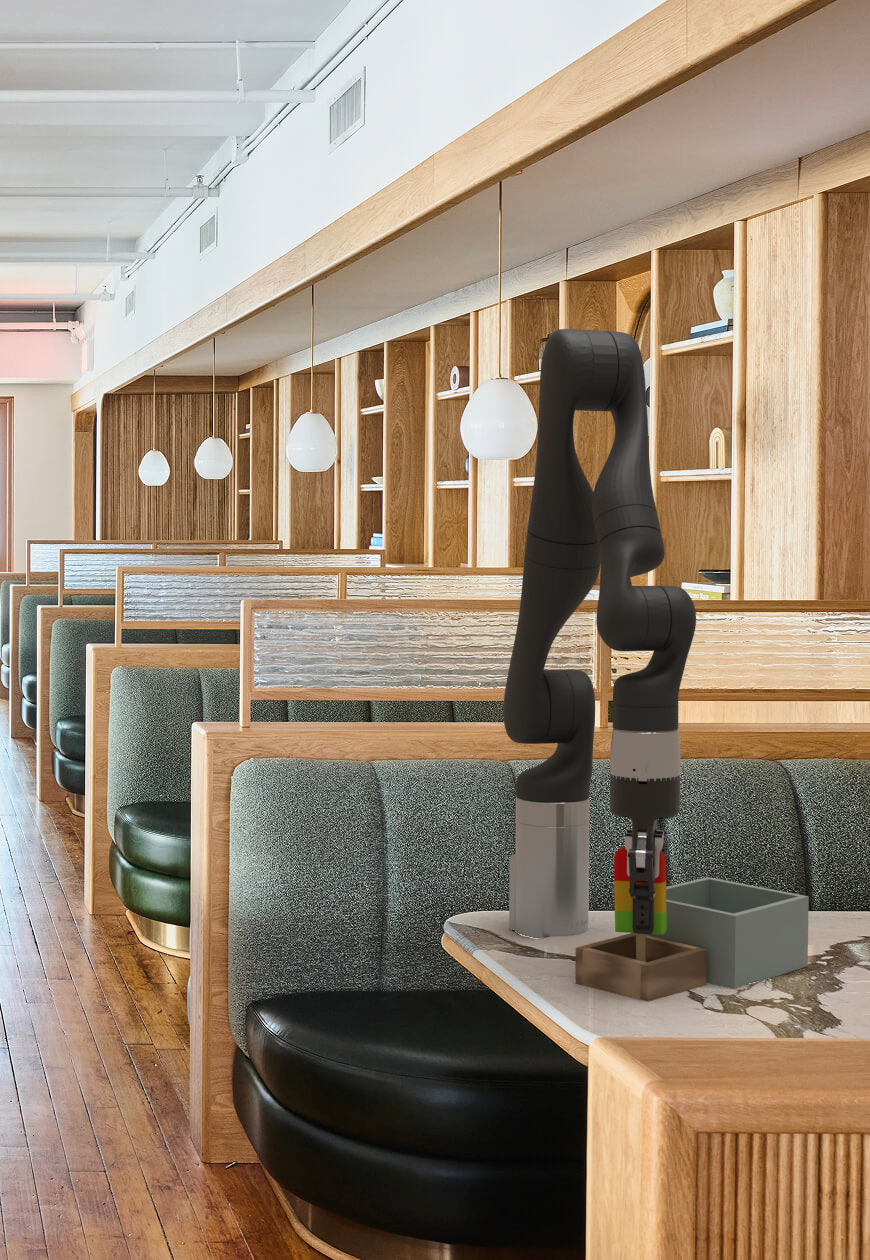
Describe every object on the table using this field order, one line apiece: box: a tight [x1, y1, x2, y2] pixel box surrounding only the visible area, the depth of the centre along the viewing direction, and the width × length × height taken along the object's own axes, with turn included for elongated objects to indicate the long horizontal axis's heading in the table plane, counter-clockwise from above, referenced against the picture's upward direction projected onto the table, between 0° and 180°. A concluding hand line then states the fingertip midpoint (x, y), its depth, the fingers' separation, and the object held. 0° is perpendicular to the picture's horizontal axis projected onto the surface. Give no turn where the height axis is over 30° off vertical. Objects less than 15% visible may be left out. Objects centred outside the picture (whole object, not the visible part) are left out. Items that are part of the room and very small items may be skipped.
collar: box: [574, 933, 707, 1003], centre depth 161 cm, size 10×10×4 cm
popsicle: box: [613, 846, 667, 962], centre depth 160 cm, size 6×15×2 cm
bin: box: [645, 877, 810, 990], centre depth 169 cm, size 14×14×8 cm
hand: (643, 929), depth 160 cm, fingers closed on popsicle, 2 cm apart
